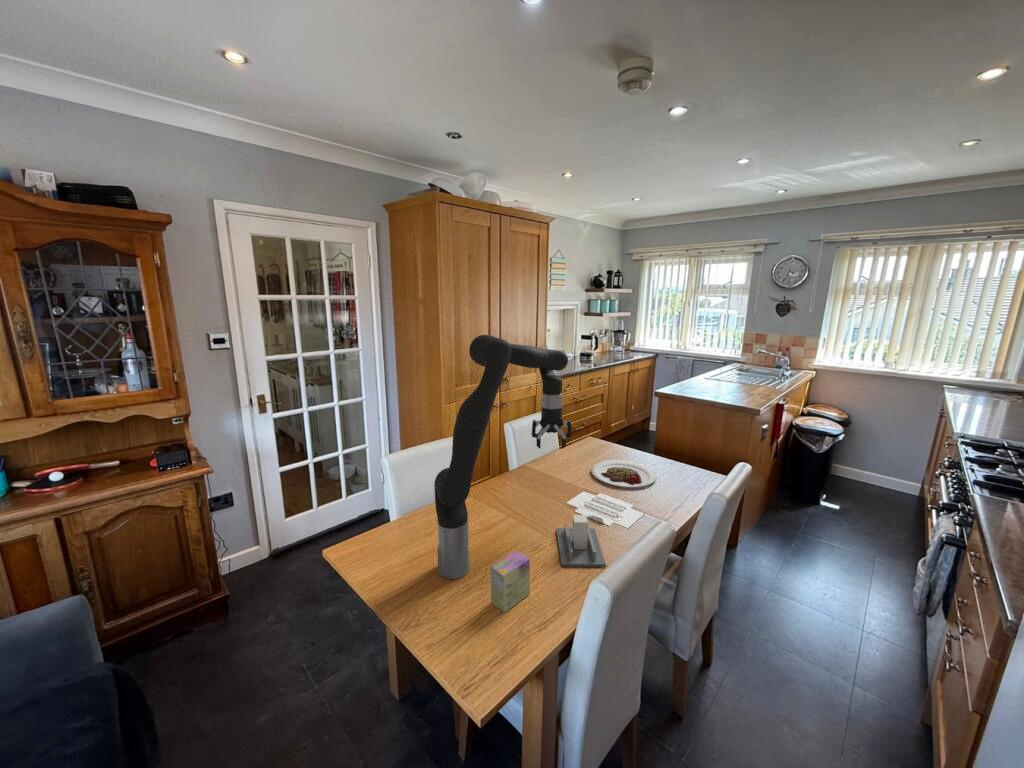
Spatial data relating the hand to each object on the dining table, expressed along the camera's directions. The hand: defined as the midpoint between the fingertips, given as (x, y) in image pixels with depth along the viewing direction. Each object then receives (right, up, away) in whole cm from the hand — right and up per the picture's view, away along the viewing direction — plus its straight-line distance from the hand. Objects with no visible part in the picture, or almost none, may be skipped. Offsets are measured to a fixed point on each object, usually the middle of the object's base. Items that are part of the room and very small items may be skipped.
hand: (551, 447), depth 148 cm
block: (+9, -32, -9) cm, 34 cm away
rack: (+9, -33, -9) cm, 35 cm away
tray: (+23, -28, +16) cm, 40 cm away
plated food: (+39, -21, +46) cm, 64 cm away
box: (-15, -38, -32) cm, 52 cm away
